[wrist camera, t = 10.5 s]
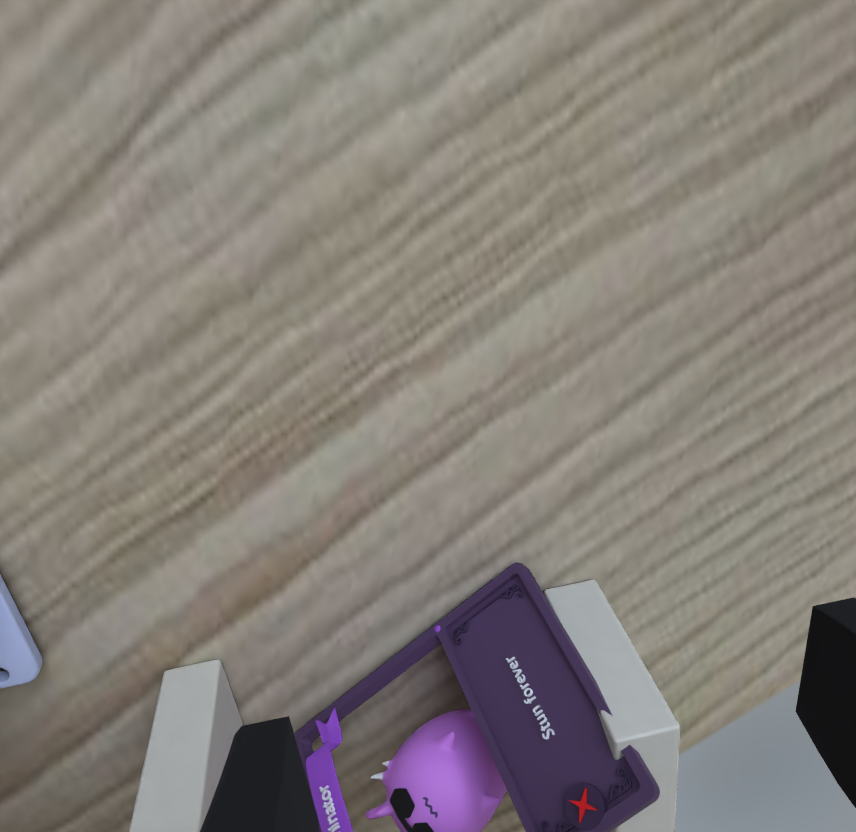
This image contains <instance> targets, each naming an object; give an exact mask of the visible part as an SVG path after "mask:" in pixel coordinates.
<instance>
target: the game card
mask: <svg viewBox="0 0 856 832" xmlns="http://www.w3.org/2000/svg"><path fill="white" fill-rule="evenodd" d="M439 644H442V645H443V648H444V650H445V652H446V654H447V657H448V659H449V661H450V663H451V666H452V668H453V670H454V672H455V674H456V677H457V679H458V681H459V683H460V686H461V688H462V690H463V692H464V695H465V697H466V699H467V701H468V703H469V706H470V708H471V709H459V710H454V711H450V712H447V713H444V714H442V715H440V716H437V717H435V718H434V719H432V720H430V721H428V722H427V723H425V724H424V725H422V726H421V727H419V728H418V729H417V730H416V731H415V732H414V733H412V734H411V735H410V736H409V737H408V738H407V739H406V741H405V742H404V743H403V744H402V745H401V747H400V748H399V749H398V751H397V752H396V754H395V755H394V757H393V759H391V760H390V761H386V762H383V763H382V764H383V765H385V766H386V767H387V770H386V771H384V772H381V773H377V774H375V775H373V776H372V777H371V779H380V780H382V782H383V783H384V785H385V787H386V792H387V800H386V801H385V802H384V803H383V804H382V805H380V806H378V807H376V808H374V809H371V810H369V811H367V812H366V818H368V819H375V818H379V817H383V816H387V815H392V817H393V819H394V821H395V823H396V825H397V826H398V828H399V829H400V830H401V831H402V832H481V831H482V830H483V828H484V827H485V826H486V824H487V823H488V822H489V820H490V819H491V817H492V816H493V814H494V813H495V811H496V809H497V808H498V806H499V804H500V803H501V801H502V799H503V797H504V795H505V793H506V791H507V790H508V793H509V795H510V797H511V799H512V802H513V804H514V806H515V808H516V811H517V813H518V815H519V817H520V819H521V822H522V824H523V826H524V828H525V831H526V832H611V831H612V830H614V829H615V828H617V827H618V826H620V825H621V824H623V823H624V822H626V821H627V820H629V819H630V818H632V817H633V816H635V815H636V814H638V813H639V812H641V811H642V810H644V809H645V808H646V807H648V806H649V805H651V804H652V803H654V802H655V801H656V800H657V799H658V798H659V795H660V789H659V786H658V784H657V782H656V781H655V779H654V777H653V776H652V774H651V772H650V771H649V769H648V767H647V766H646V764H645V762H644V761H643V759H642V757H641V756H640V754H639V752H638V751H637V750H635V749H634V748H633V747H632V746H631V745H628V746H627V747H626V748H624V749H623V750H621V752H622V753H623V755H624V756H623V757H621V758H620V759H618V760H615V759H614V758H613V755H612V752H611V749H610V746H609V743H608V740H607V737H606V735H605V732H604V729H603V726H602V723H601V720H600V717H599V714H600V715H601V710H604V711H606V712H607V713H609V714H610V715H612V713H611V711H610V709H609V707H608V705H607V703H606V701H605V699H604V697H603V695H602V693H601V691H600V689H599V686H598V684H597V682H596V680H595V679H594V677H593V675H592V674H591V672H590V670H589V669H588V667H587V665H586V664H585V662H584V660H583V659H582V657H581V655H580V654H579V652H578V650H577V649H576V647H575V645H574V644H573V642H572V640H571V639H570V637H569V635H568V634H567V632H566V630H565V629H564V627H563V625H562V624H561V622H560V620H559V619H558V617H557V615H556V614H555V612H554V610H553V609H552V607H551V605H550V604H549V602H548V600H547V598H546V597H545V595H544V593H543V592H542V590H541V588H540V587H539V585H538V583H537V582H536V580H535V578H534V577H533V575H532V573H531V572H530V570H529V569H528V568H527V567H525V566H524V565H523V564H521V563H514V564H512V565H511V566H510V567H509V568H507V569H506V570H505V571H503V572H502V573H501V574H500V575H498V576H497V577H496V578H494V579H493V580H492V581H491V582H489V583H488V584H487V585H485V586H484V587H483V588H482V589H480V590H479V591H478V592H476V593H475V594H474V595H472V596H471V597H470V598H469V599H467V600H466V601H465V602H463V603H462V604H461V605H460V606H458V607H457V608H456V609H454V610H453V611H452V612H451V613H449V614H448V615H447V616H445V617H444V618H443V619H441V620H440V621H439V622H438V623H436V624H435V625H434V626H432V627H431V628H430V629H429V630H427V631H426V632H425V633H423V634H422V635H421V636H420V637H418V638H417V639H416V640H414V641H413V642H412V643H411V644H409V645H408V646H407V647H405V648H404V649H403V650H401V651H400V652H399V653H398V654H396V655H395V656H394V657H392V658H391V659H390V660H389V661H387V662H386V663H385V664H383V665H382V666H381V667H380V668H378V669H377V670H376V671H374V672H373V673H372V674H370V675H369V676H368V677H367V678H365V679H364V680H363V681H361V682H360V683H359V684H358V685H356V686H355V687H354V688H352V689H351V690H350V691H349V692H347V693H346V694H345V695H343V696H342V697H341V698H339V699H338V700H337V701H336V702H334V703H333V704H332V705H330V706H329V707H328V708H327V709H325V710H324V711H323V712H321V713H320V714H319V715H318V716H316V717H315V718H314V719H312V720H311V721H310V722H309V723H307V724H306V725H305V726H303V727H302V728H301V729H299V730H298V731H297V732H296V733H295V734H294V736H295V739H296V743H297V746H298V750H299V753H300V757H301V760H302V764H303V767H304V771H305V774H306V778H307V781H308V785H309V788H310V792H311V795H312V799H313V802H314V805H315V809H316V812H317V816H318V823H319V832H353V829H352V826H351V823H350V819H349V816H348V813H347V809H346V806H345V803H344V799H343V796H342V793H341V789H340V786H339V782H338V779H337V775H336V771H335V767H334V763H333V759H332V755H331V751H332V750H333V749H335V748H336V747H337V746H338V745H339V744H340V743H341V742H342V733H341V728H340V724H339V721H340V720H342V719H343V718H344V717H346V716H347V715H348V714H349V713H351V712H352V711H353V710H355V709H356V708H357V707H359V706H360V705H361V704H362V703H364V702H365V701H366V700H368V699H369V698H370V697H372V696H373V695H374V694H376V693H377V692H378V691H379V690H381V689H382V688H383V687H385V686H386V685H387V684H389V683H390V682H391V681H392V680H394V679H395V678H396V677H398V676H399V675H400V674H402V673H403V672H404V671H406V670H407V669H408V668H409V667H411V666H412V665H413V664H415V663H416V662H417V661H419V660H420V659H421V658H422V657H424V656H425V655H426V654H428V653H429V652H430V651H432V650H433V649H434V648H435V647H437V646H438V645H439ZM597 710H598V711H597ZM598 712H599V714H598ZM601 717H602V716H601ZM319 736H321V739H322V742H323V746H322V747H320V748H319V749H318V750H317V751H315V752H313V748H312V743H313V741H314V740H316V739H317V738H318V737H319Z"/></svg>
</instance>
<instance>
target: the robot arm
mask: <svg viewBox="0 0 856 832" xmlns="http://www.w3.org/2000/svg"><path fill="white" fill-rule="evenodd" d="M42 664H43V660H42V656H41V654H40V652H39V650H38V648H37V646H36V644H35V642H34V640H33V638H32V636H31V634H30V632H29V630H28V628H27V626H26V624H25V622H24V620H23V618H22V616H21V614H20V612H19V610H18V608H17V606H16V604H15V602H14V600H13V598H12V596H11V594H10V592H9V590H8V588H7V586H6V584H5V582H4V580H3V578H2V576H1V574H0V668H3V669H5V670H6V671H0V689H1V688H6V687H11V686H15V685H20V684H25V683H28V682H31V681H33V680H34V679H35V678H36V677H37V676H38V674H39V672H40V669H41V667H42ZM796 713H797V715H798V716H799V718H800V720H801V722H802V723H803V725H804V727H805V728H806V730H807V732H808V734H809V736H810V738H811V739H812V741H813V743H814V744H815V746H816V748H817V749H818V752H819V753H820V755H821V757H822V758H823V760H824V761H825V763H826V765H827V766H828V768H829V769H830V771H831V773H832V774H833V776H834V778H835V779H836V781H837V783H838V784H839V786H840V787H841V788H842V790H843V791H844V793H845V794H846V795H847V797H848V798H849V800H850V801H851V802H852V804H853V805H854V806H855V808H856V598H850V599H845V600H840V601H835V602H831V603H826V604H821V605H816V606H813V609H812V615H811V621H810V627H809V633H808V639H807V645H806V652H805V658H804V664H803V670H802V676H801V682H800V688H799V695H798V701H797V707H796ZM200 832H319V823H318V816H317V812H316V809H315V805H314V802H313V799H312V795H311V792H310V788H309V785H308V781H307V778H306V774H305V771H304V767H303V764H302V760H301V757H300V753H299V750H298V746H297V743H296V739H295V736H294V732H293V729H292V725H291V722H290V718H289V716H288V717H283V718H279V719H274V720H269V721H264V722H260V723H255V724H250V725H245V726H241V727H240V729H239V730H238V731H237V732H236V733H235V735H234V738H233V741H232V744H231V747H230V751H229V754H228V757H227V760H226V763H225V766H224V768H223V771H222V774H221V777H220V780H219V783H218V786H217V788H216V791H215V794H214V796H213V799H212V802H211V805H210V807H209V810H208V812H207V815H206V817H205V820H204V823H203V825H202V828H201V830H200Z"/></svg>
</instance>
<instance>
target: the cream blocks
mask: <svg viewBox="0 0 856 832" xmlns="http://www.w3.org/2000/svg"><path fill="white" fill-rule="evenodd" d="M544 595H545V597H546V598H547V600H548V602H549V604H550V605H551V607H552V609H553V610H554V612H555V614H556V615H557V617H558V619H559V620H560V622H561V624H562V625H563V627H564V629H565V630H566V632H567V634H568V635H569V637H570V639H571V640H572V642H573V644H574V645H575V647H576V649H577V650H578V652H579V654H580V655H581V657H582V659H583V660H584V662H585V664H586V665H587V667H588V669H589V670H590V672H591V674H592V675H593V677H594V679H595V680H596V682H597V684H598V686H599V689H600V691H601V693H602V695H603V697H604V699H605V701H606V703H607V705H608V707H609V709H610V711H611V713H612V715H610V714H609V713H607V712H606V711H604V710H601V715H600V714H599V712H598V714H599V717H600V720H601V723H602V726H603V729H604V732H605V735H606V737H607V740H608V743H609V746H610V749H611V752H612V755H613V758H614V759H615V760H618V759H620V758H621V757H623V756H624V755H623V753H622V752H621V750H623V749H624V748H626V747H627V746H628V745H631V746H632V747H633V748H634V749H635V750H637V751H638V752H639V754H640V756H641V757H642V759H643V761H644V762H645V764H646V766H647V767H648V769H649V771H650V772H651V774H652V776H653V777H654V779H655V781H656V782H657V784H658V786H659V789H660V795H659V798H658V799H657V800H656V801H655V802H654V803H652V804H651V805H649V806H648V807H646V808H645V809H644V810H642V811H641V812H639V813H638V814H636V815H635V816H633V817H632V818H630V819H629V820H627V821H626V822H624V823H623V824H621V825H620V826H618V827H617V828H615V829H614V830H612V831H611V832H675V827H676V803H677V781H678V760H679V739H680V726H679V724H678V722H677V720H676V719H675V717H674V715H673V713H672V712H671V710H670V708H669V707H668V705H667V703H666V701H665V700H664V698H663V696H662V694H661V693H660V691H659V689H658V687H657V686H656V684H655V682H654V681H653V679H652V677H651V675H650V674H649V672H648V670H647V668H646V667H645V665H644V663H643V661H642V660H641V658H640V656H639V655H638V653H637V651H636V649H635V648H634V646H633V644H632V642H631V641H630V639H629V637H628V635H627V634H626V632H625V630H624V629H623V627H622V625H621V623H620V622H619V620H618V618H617V616H616V615H615V613H614V611H613V609H612V608H611V606H610V604H609V603H608V601H607V599H606V597H605V596H604V594H603V592H602V590H601V589H600V587H599V585H598V583H597V582H596V580H589V581H584V582H579V583H575V584H570V585H565V586H560V587H556V588H551V589H546V590H545V591H544ZM597 711H598V710H597ZM601 716H602V717H601ZM241 726H243V723H242V720H241V717H240V714H239V711H238V709H237V706H236V703H235V700H234V697H233V694H232V691H231V689H230V686H229V683H228V680H227V677H226V674H225V671H224V668H223V666H222V663H221V661H220V660H219V659H217V660H212V661H207V662H203V663H198V664H193V665H188V666H184V667H179V668H174V669H170V670H166V671H165V672H164V675H163V679H162V684H161V688H160V693H159V697H158V702H157V707H156V711H155V716H154V720H153V725H152V729H151V734H150V738H149V743H148V748H147V752H146V757H145V761H144V766H143V770H142V775H141V779H140V784H139V789H138V793H137V798H136V802H135V807H134V811H133V816H132V820H131V825H130V830H129V832H200V830H201V828H202V825H203V823H204V820H205V817H206V815H207V812H208V810H209V807H210V805H211V802H212V799H213V796H214V794H215V791H216V788H217V786H218V783H219V780H220V777H221V774H222V771H223V768H224V766H225V763H226V760H227V757H228V754H229V751H230V747H231V744H232V741H233V738H234V735H235V733H236V732H237V731H238V730H239V729H240V727H241Z"/></svg>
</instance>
